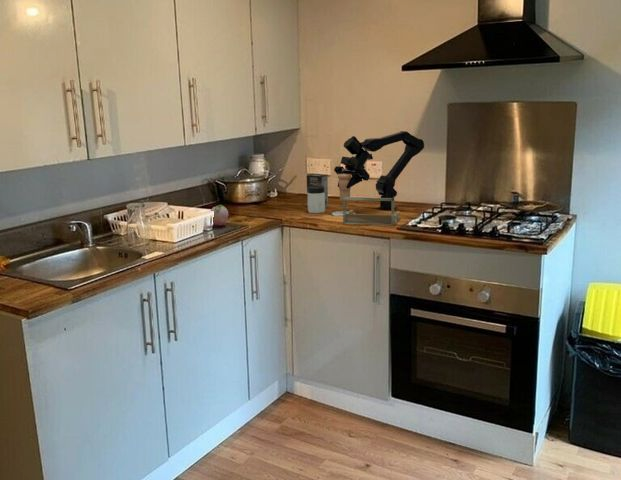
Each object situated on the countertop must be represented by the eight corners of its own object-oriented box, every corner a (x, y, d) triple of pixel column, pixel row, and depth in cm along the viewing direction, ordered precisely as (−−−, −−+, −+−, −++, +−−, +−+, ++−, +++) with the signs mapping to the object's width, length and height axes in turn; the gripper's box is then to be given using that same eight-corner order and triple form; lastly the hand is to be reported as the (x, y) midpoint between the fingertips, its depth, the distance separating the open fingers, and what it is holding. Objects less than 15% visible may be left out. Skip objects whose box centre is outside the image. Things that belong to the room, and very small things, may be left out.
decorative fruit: (210, 224, 283) (209, 202, 281) (229, 223, 284) (228, 201, 282) (209, 228, 274) (207, 206, 272) (228, 228, 275) (227, 205, 273)
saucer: (344, 211, 305) (344, 210, 305) (360, 214, 297) (360, 212, 296) (327, 214, 298) (326, 213, 298) (342, 217, 290) (342, 216, 290)
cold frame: (352, 217, 289) (351, 191, 286) (400, 219, 282) (400, 192, 280) (343, 224, 275) (342, 197, 272) (393, 226, 268) (393, 198, 265)
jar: (313, 214, 301) (312, 188, 298) (304, 211, 307) (303, 187, 305) (329, 211, 305) (328, 186, 303) (319, 209, 312) (318, 185, 309)
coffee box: (306, 207, 319) (305, 175, 316) (313, 205, 324) (312, 173, 321) (322, 208, 314) (321, 176, 311) (328, 206, 320) (328, 174, 316)
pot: (350, 198, 298) (349, 172, 295) (352, 200, 292) (352, 174, 289) (337, 199, 297) (336, 173, 295) (339, 201, 291) (339, 175, 289)
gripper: (336, 148, 299) (319, 174, 295) (365, 150, 285) (347, 178, 281) (348, 164, 306) (332, 189, 301) (377, 166, 292) (360, 193, 288)
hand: (342, 187), depth 293 cm, fingers closed on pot, 5 cm apart
